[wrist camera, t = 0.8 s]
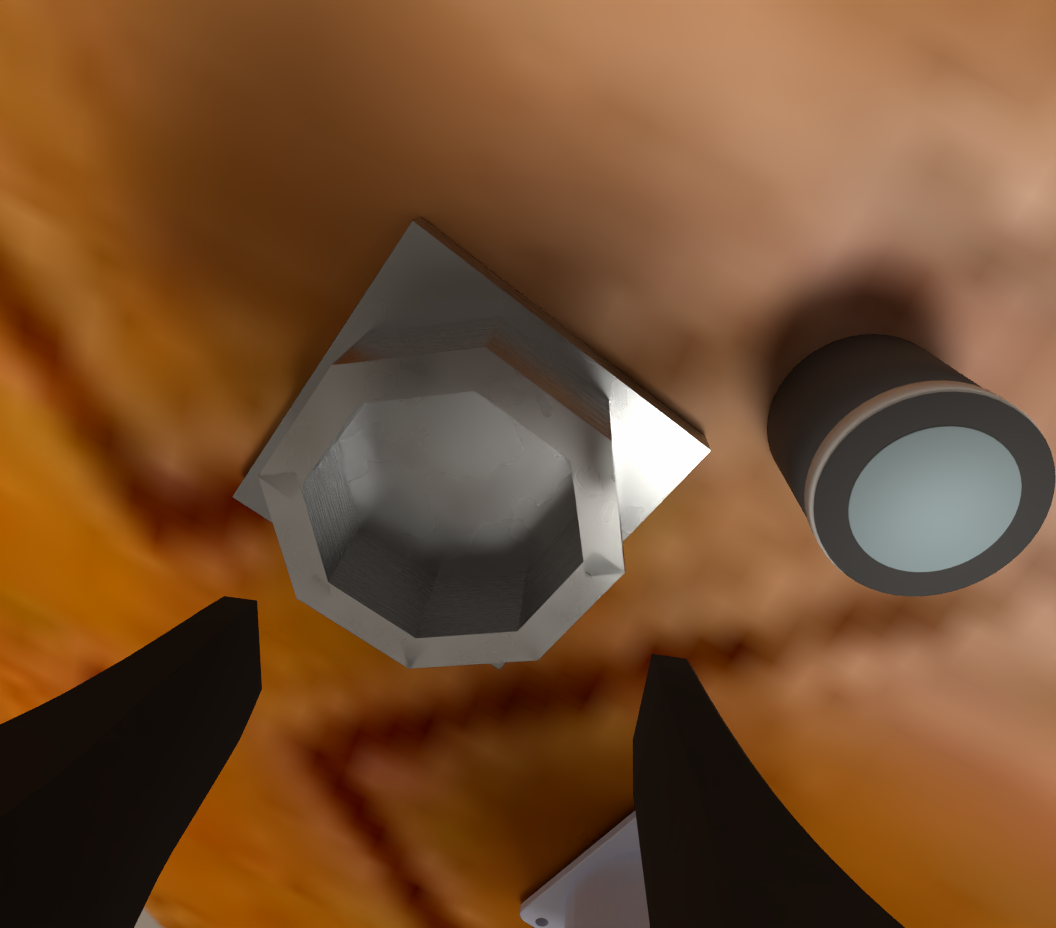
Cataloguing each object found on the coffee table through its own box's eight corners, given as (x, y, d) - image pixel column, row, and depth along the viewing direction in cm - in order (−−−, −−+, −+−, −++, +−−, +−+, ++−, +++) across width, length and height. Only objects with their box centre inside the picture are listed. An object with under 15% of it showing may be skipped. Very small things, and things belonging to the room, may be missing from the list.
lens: (993, 407, 20) (1110, 487, 16) (853, 531, 22) (921, 635, 18) (863, 294, 19) (948, 344, 15) (727, 433, 21) (766, 516, 17)
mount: (705, 437, 21) (729, 499, 18) (502, 650, 25) (488, 738, 21) (420, 216, 19) (382, 236, 16) (246, 482, 23) (182, 547, 19)
